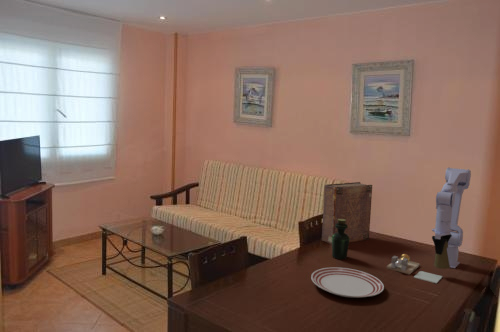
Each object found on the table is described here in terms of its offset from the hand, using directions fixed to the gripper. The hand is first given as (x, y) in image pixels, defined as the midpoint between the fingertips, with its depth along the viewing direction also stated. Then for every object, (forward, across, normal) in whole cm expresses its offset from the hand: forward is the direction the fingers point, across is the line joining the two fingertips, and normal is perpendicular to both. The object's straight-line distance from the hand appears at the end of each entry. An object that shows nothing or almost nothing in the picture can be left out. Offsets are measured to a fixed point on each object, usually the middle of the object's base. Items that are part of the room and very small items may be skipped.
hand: (440, 252), depth 176 cm
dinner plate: (+11, +37, -24) cm, 46 cm away
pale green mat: (+10, +4, -3) cm, 12 cm away
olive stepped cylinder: (+6, 0, +1) cm, 6 cm away
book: (+11, -21, -52) cm, 57 cm away
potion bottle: (+11, +7, -42) cm, 44 cm away
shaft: (+9, +3, -15) cm, 18 cm away
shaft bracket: (+10, -1, -15) cm, 18 cm away
